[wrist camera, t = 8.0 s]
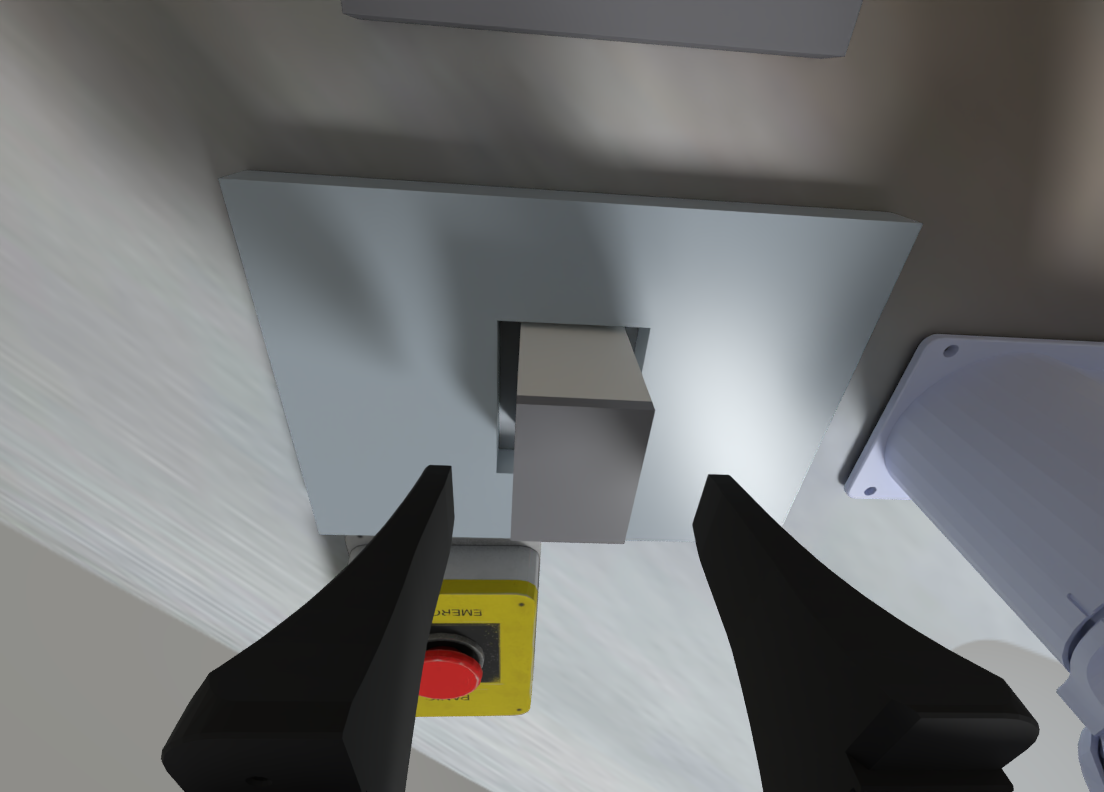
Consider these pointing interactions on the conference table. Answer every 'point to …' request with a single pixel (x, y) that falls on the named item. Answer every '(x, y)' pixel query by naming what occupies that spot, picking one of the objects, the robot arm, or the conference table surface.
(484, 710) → the emergency button
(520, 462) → the grey block
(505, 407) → the conference table surface
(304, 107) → the conference table surface
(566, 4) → the grey square frame
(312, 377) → the port plate
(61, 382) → the conference table surface
